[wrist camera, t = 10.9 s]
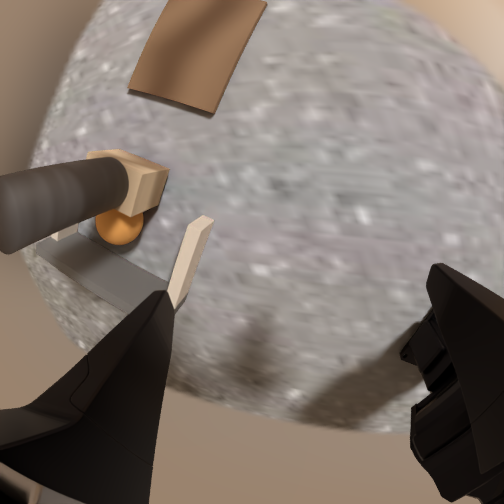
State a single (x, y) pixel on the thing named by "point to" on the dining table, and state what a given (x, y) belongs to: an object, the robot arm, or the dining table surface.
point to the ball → (118, 226)
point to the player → (75, 194)
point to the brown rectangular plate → (196, 50)
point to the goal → (123, 266)
